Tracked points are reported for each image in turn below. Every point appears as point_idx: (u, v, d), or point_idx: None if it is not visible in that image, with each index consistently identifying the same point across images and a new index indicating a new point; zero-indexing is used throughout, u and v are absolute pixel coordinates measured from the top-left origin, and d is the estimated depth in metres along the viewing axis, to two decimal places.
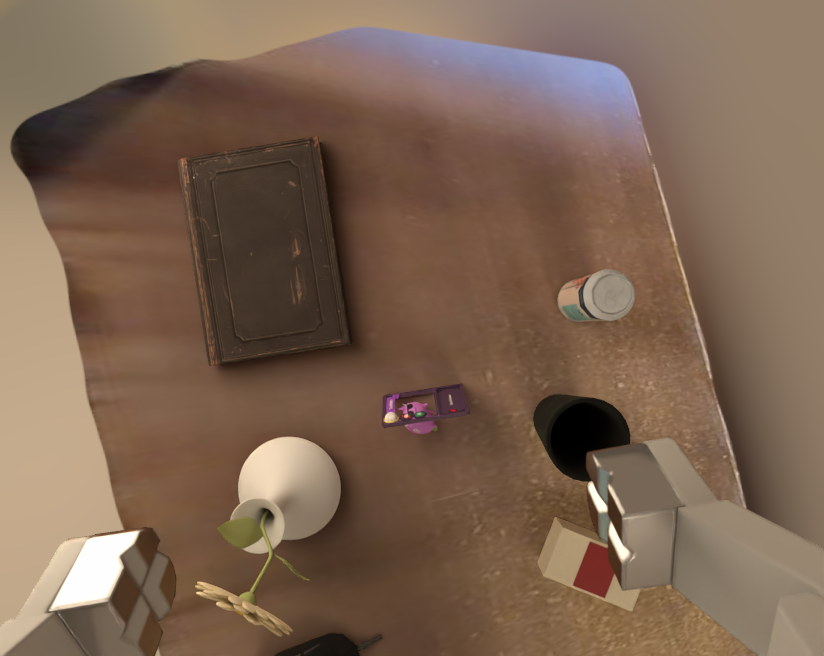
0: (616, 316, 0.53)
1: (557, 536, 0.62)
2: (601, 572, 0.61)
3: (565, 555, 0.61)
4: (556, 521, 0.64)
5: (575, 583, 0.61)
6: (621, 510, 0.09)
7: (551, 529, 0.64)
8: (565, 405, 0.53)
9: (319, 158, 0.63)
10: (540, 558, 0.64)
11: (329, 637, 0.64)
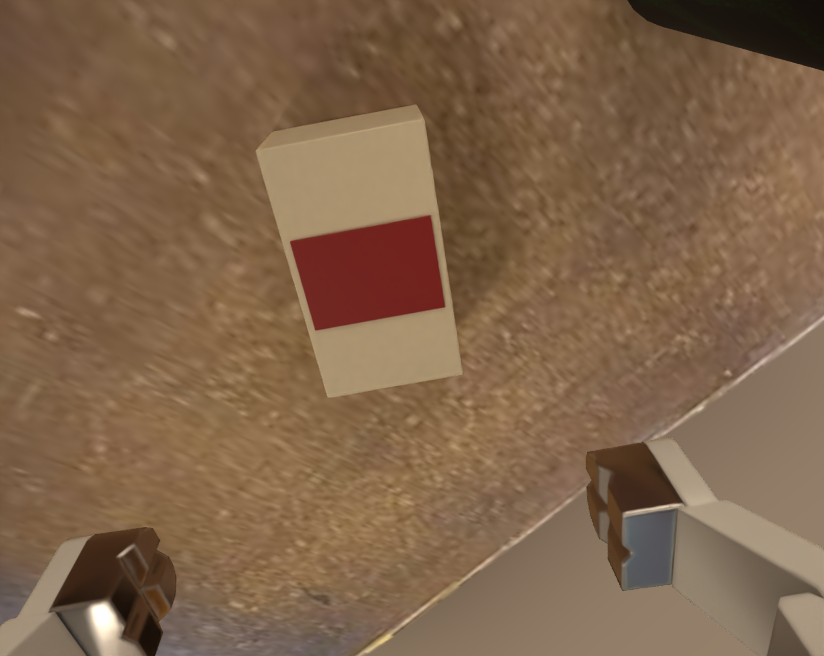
0: None
1: (387, 123, 0.19)
2: (369, 289, 0.21)
3: (353, 174, 0.19)
4: (410, 109, 0.21)
5: (299, 245, 0.20)
6: (621, 510, 0.09)
7: (380, 112, 0.21)
8: None
9: None
10: (289, 130, 0.21)
11: None
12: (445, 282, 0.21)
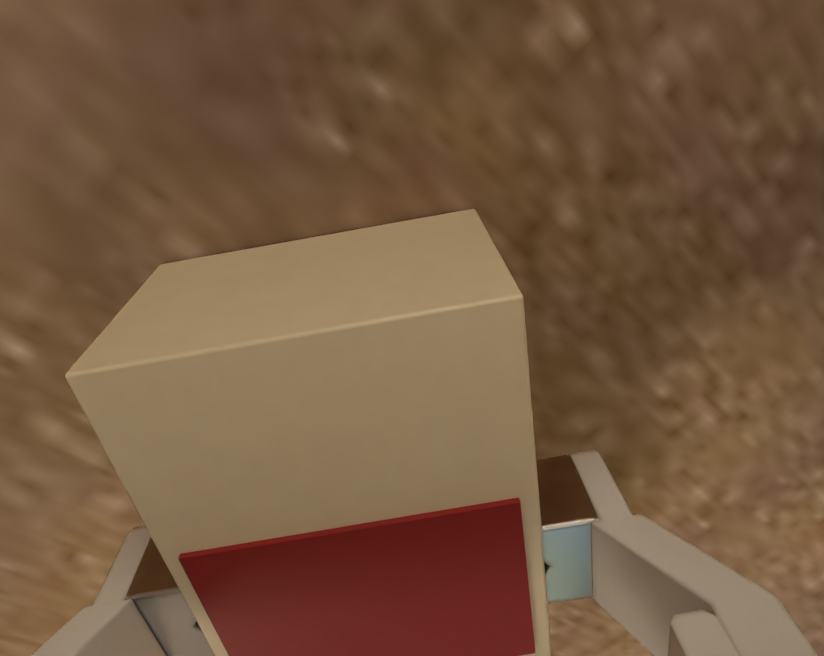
0: None
1: (419, 296, 0.07)
2: (370, 628, 0.09)
3: (329, 421, 0.07)
4: (467, 228, 0.09)
5: (202, 562, 0.08)
6: None
7: (396, 231, 0.10)
8: None
9: None
10: (192, 270, 0.09)
11: None
12: (540, 610, 0.10)
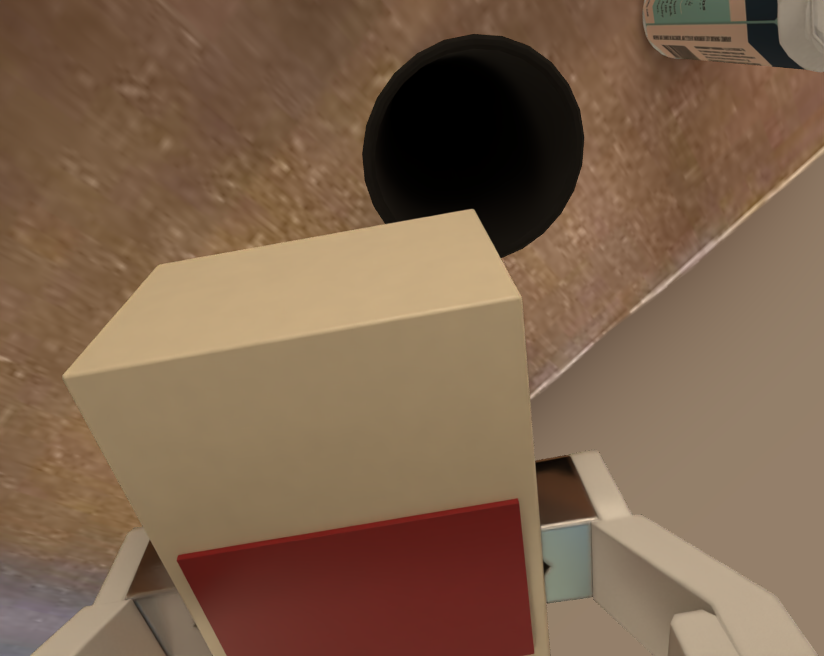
0: (804, 43, 0.19)
1: (418, 296, 0.07)
2: (369, 629, 0.09)
3: (327, 422, 0.07)
4: (466, 229, 0.09)
5: (200, 564, 0.08)
6: None
7: (395, 231, 0.10)
8: (529, 49, 0.18)
9: None
10: (190, 270, 0.09)
11: None
12: (539, 611, 0.10)
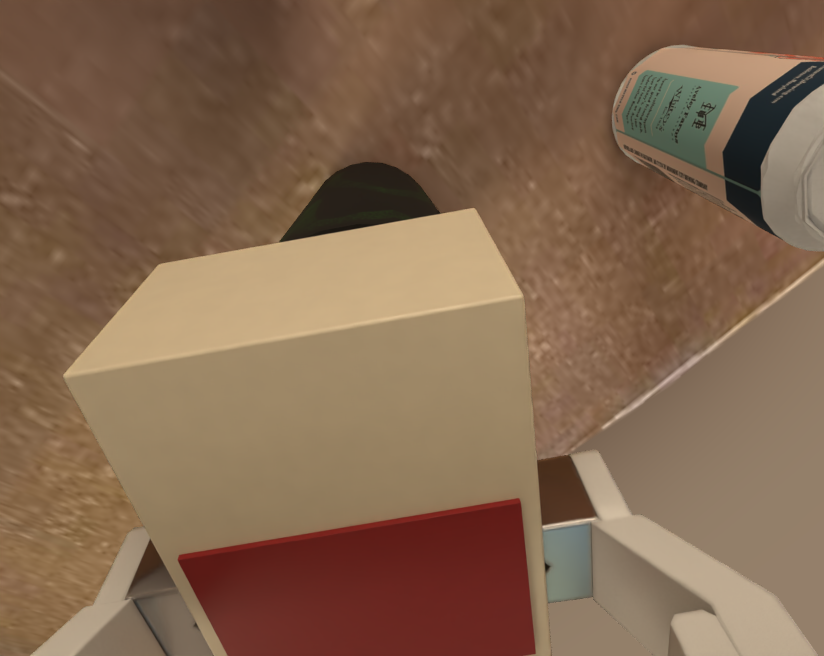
0: (795, 226, 0.15)
1: (420, 295, 0.07)
2: (370, 629, 0.09)
3: (328, 421, 0.07)
4: (468, 228, 0.09)
5: (201, 563, 0.08)
6: None
7: (396, 230, 0.10)
8: None
9: None
10: (191, 269, 0.09)
11: None
12: (540, 611, 0.10)
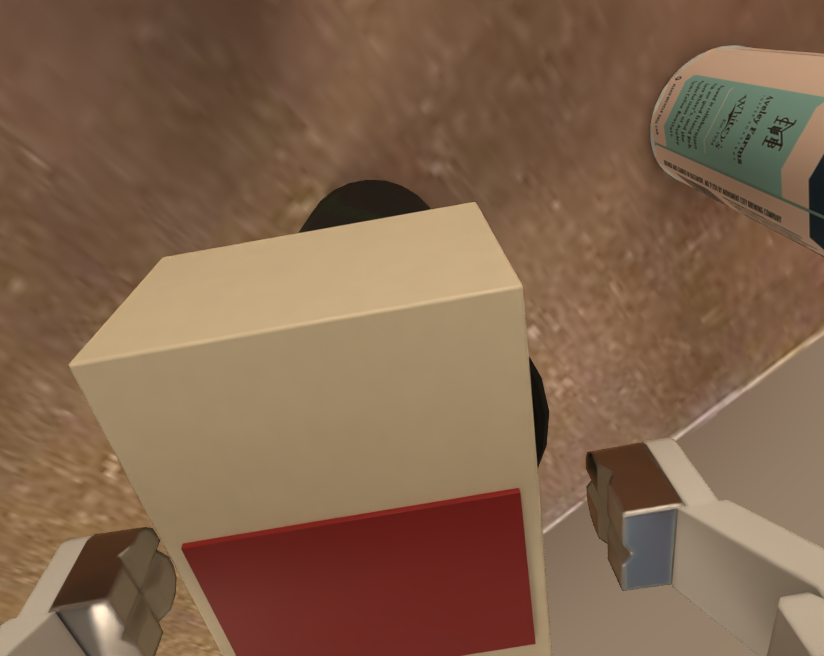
0: None
1: (420, 286, 0.07)
2: (370, 618, 0.10)
3: (330, 410, 0.08)
4: (468, 221, 0.09)
5: (204, 552, 0.08)
6: (621, 510, 0.09)
7: (397, 224, 0.10)
8: None
9: None
10: (194, 262, 0.10)
11: None
12: (540, 601, 0.10)
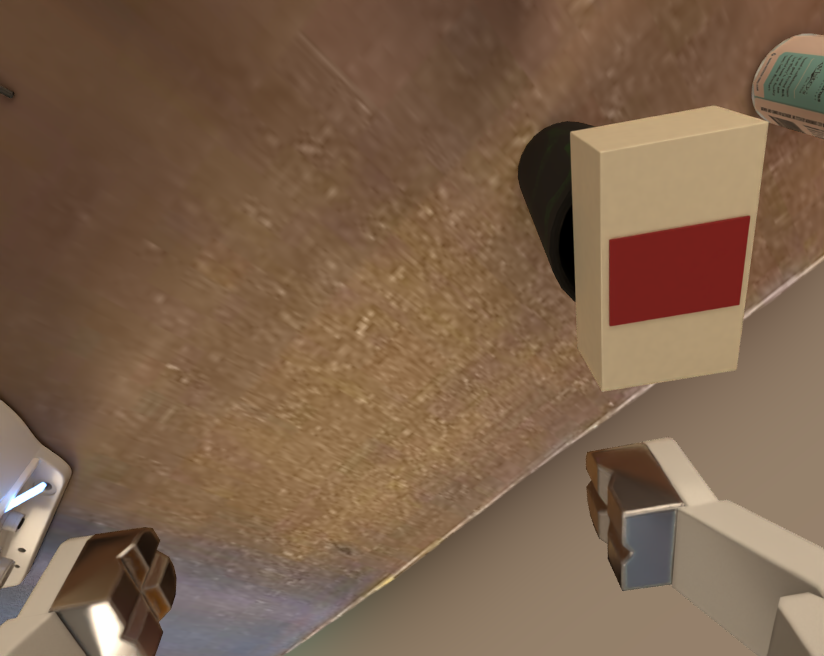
0: None
1: (725, 125, 0.19)
2: (671, 287, 0.22)
3: (686, 175, 0.20)
4: (720, 110, 0.21)
5: (617, 243, 0.21)
6: (621, 510, 0.09)
7: (684, 113, 0.22)
8: None
9: None
10: (595, 130, 0.22)
11: None
12: (745, 280, 0.22)
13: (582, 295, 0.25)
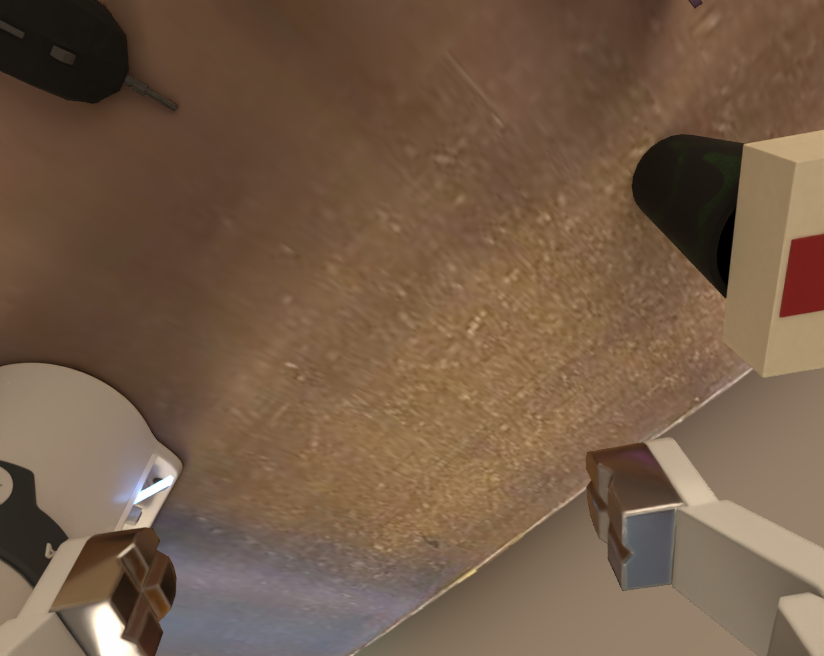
0: None
1: None
2: None
3: None
4: None
5: (799, 243, 0.23)
6: (621, 510, 0.09)
7: None
8: None
9: None
10: (769, 143, 0.25)
11: (102, 10, 0.31)
12: None
13: (740, 291, 0.27)
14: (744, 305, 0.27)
